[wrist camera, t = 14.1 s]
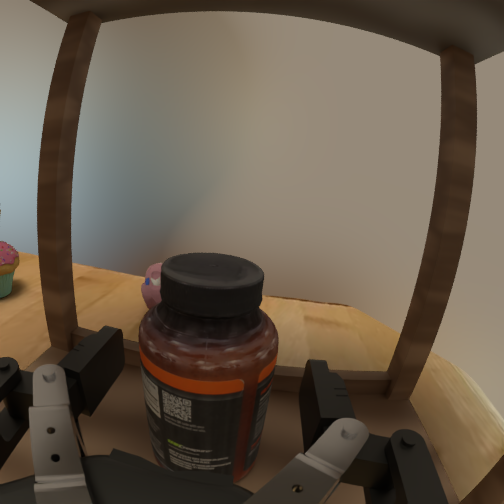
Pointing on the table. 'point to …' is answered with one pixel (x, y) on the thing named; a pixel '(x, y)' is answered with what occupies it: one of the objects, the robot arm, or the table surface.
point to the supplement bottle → (207, 364)
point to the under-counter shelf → (285, 378)
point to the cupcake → (7, 267)
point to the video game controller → (152, 285)
